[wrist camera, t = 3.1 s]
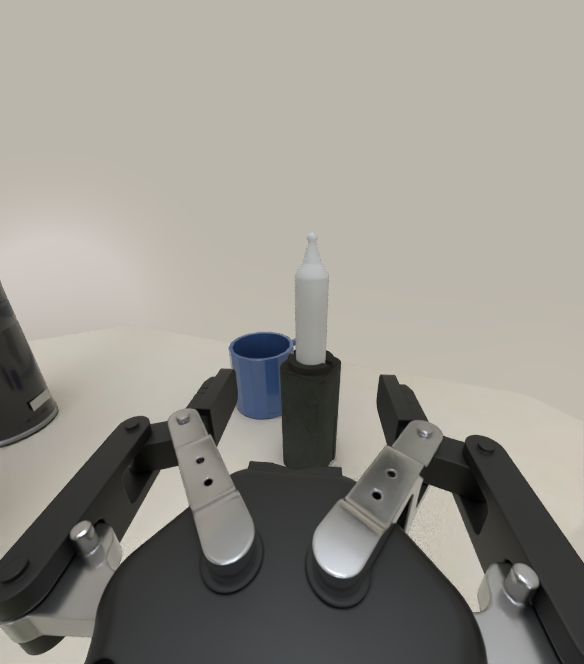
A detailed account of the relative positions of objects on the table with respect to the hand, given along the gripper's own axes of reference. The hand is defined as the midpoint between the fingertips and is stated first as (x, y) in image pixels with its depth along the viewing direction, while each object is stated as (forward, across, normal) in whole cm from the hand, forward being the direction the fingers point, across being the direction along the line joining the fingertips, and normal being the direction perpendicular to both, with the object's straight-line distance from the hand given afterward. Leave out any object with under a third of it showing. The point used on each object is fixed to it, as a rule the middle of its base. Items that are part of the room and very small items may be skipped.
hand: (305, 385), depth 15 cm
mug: (+23, +6, +18) cm, 29 cm away
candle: (+11, 0, +18) cm, 21 cm away
